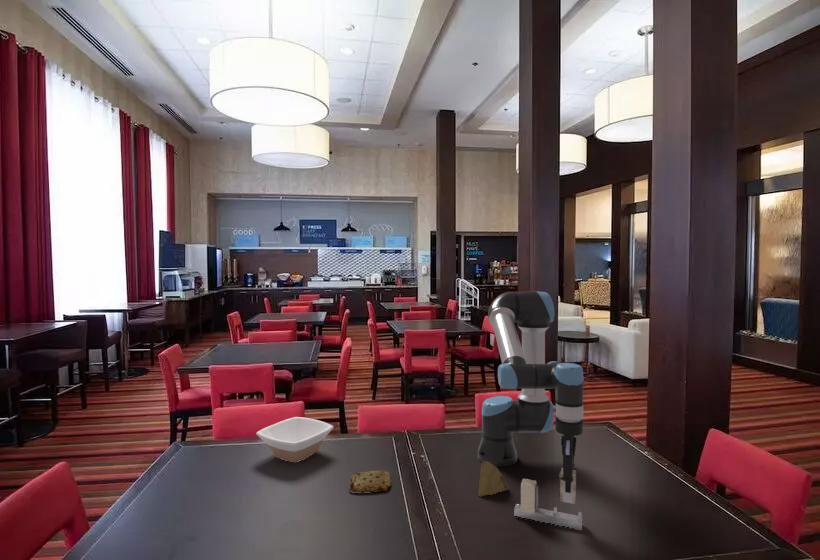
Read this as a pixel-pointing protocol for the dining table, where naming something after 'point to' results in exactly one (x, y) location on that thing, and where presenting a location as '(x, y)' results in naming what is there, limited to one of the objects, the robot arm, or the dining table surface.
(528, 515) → the grey l-shaped piece
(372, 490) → the pastry
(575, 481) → the block
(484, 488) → the rock
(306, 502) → the dining table surface
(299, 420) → the bowl
